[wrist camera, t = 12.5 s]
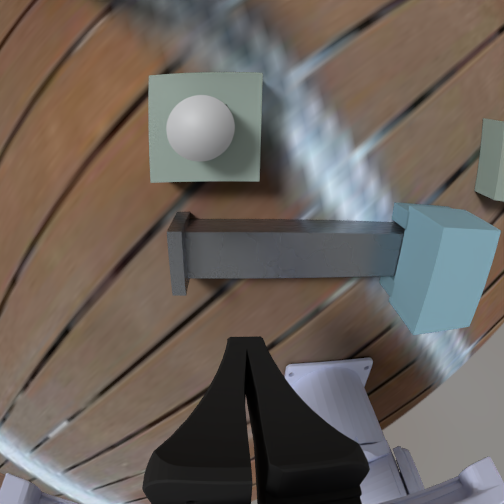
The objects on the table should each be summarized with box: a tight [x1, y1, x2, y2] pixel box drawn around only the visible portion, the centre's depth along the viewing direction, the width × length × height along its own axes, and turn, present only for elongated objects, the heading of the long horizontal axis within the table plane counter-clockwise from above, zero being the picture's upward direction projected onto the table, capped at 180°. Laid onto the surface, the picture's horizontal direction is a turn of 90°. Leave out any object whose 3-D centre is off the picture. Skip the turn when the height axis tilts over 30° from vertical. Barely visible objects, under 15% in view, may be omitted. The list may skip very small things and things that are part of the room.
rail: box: [167, 212, 405, 295], centre depth 20 cm, size 4×22×4 cm, turn 89°
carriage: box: [379, 203, 501, 335], centre depth 19 cm, size 7×5×6 cm
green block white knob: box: [149, 72, 263, 183], centre depth 16 cm, size 6×6×5 cm
